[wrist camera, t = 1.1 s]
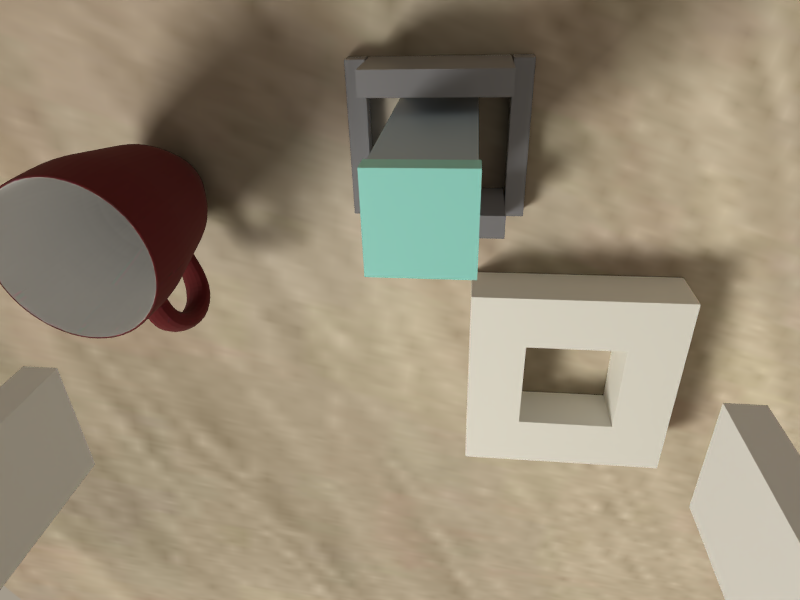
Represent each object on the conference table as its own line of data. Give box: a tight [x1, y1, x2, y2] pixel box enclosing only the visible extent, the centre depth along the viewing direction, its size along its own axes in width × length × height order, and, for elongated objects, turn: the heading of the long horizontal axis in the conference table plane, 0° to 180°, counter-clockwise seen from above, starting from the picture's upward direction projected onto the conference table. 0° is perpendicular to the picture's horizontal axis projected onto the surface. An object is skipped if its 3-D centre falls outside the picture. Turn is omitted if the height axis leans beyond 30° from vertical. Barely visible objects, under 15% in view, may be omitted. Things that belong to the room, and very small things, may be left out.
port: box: [465, 272, 701, 468], centre depth 36 cm, size 12×12×3 cm
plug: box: [357, 97, 482, 280], centre depth 26 cm, size 4×4×12 cm
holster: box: [344, 54, 536, 239], centre depth 29 cm, size 8×9×4 cm
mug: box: [0, 144, 210, 338], centre depth 30 cm, size 11×8×10 cm
